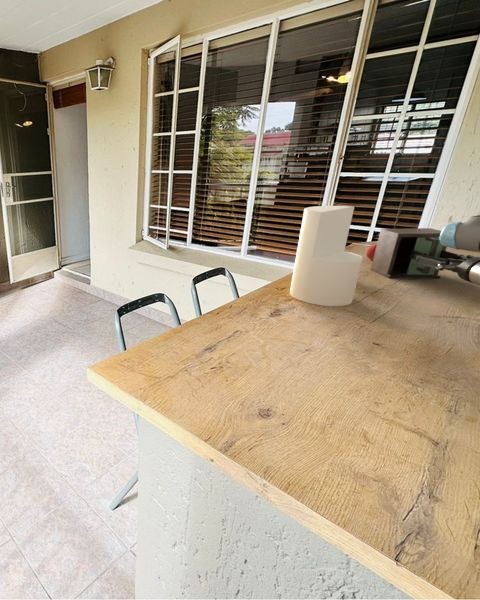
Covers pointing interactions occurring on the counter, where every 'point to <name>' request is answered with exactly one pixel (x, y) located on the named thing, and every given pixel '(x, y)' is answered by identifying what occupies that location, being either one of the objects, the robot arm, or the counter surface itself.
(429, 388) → the counter surface
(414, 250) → the robot arm
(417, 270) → the door
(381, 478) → the counter surface
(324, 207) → the cream stepped cylinder
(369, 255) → the onion
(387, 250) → the cabinet
